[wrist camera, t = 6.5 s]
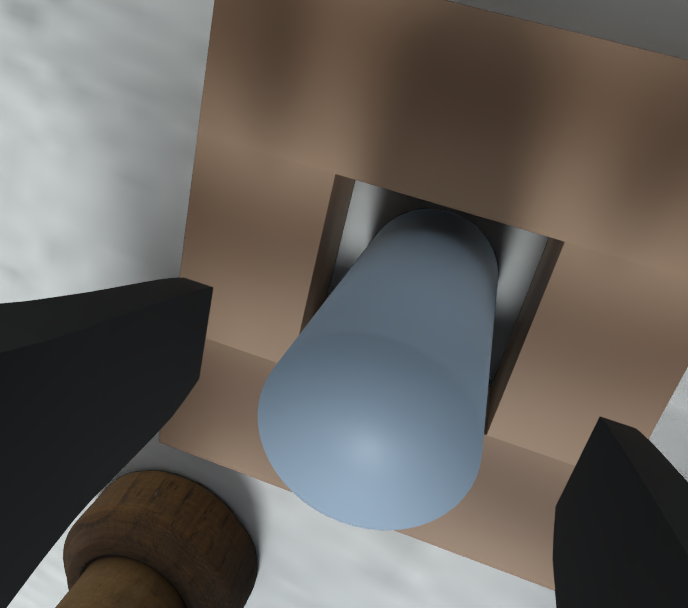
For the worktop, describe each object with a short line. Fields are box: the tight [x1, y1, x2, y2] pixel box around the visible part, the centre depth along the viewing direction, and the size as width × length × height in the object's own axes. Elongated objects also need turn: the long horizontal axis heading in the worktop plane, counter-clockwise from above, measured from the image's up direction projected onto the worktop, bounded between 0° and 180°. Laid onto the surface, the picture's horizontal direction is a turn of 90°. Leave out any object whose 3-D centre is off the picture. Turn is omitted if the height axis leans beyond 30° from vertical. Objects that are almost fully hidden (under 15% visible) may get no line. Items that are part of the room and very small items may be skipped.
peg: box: [258, 209, 498, 530], centre depth 13 cm, size 4×4×8 cm
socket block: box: [159, 0, 688, 591], centre depth 16 cm, size 13×12×2 cm
